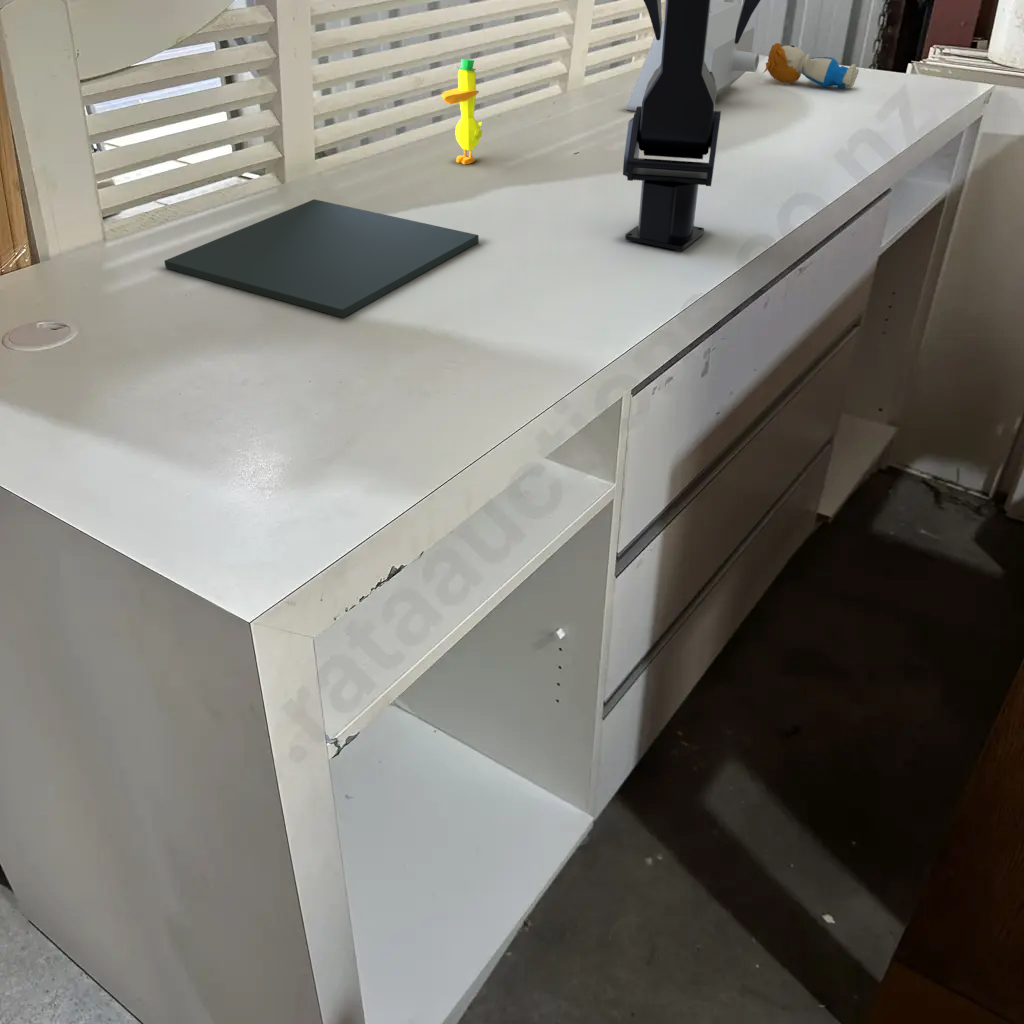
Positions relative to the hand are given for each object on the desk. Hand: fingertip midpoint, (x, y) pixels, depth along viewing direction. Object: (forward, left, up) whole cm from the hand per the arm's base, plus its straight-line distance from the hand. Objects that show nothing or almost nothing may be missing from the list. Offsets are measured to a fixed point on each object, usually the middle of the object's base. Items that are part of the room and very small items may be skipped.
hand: (697, 40), depth 114 cm
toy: (+53, 0, -14) cm, 55 cm away
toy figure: (-15, +24, -14) cm, 32 cm away
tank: (+33, +11, -15) cm, 38 cm away
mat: (-49, +18, -14) cm, 54 cm away
